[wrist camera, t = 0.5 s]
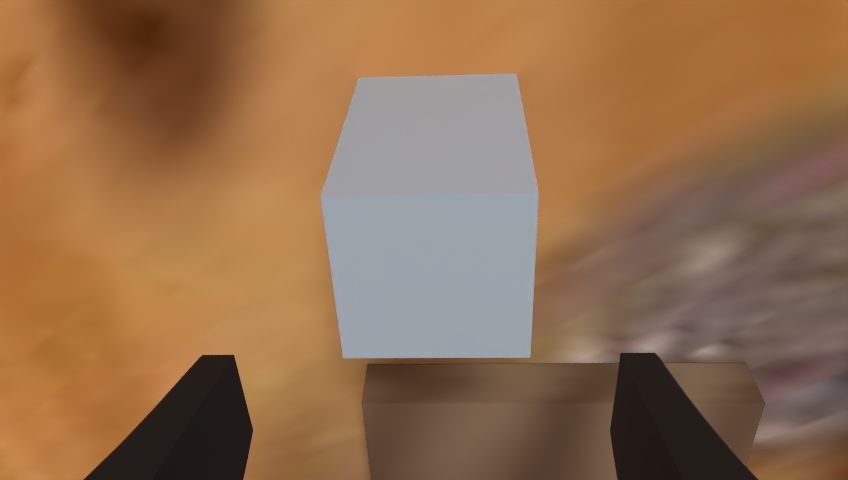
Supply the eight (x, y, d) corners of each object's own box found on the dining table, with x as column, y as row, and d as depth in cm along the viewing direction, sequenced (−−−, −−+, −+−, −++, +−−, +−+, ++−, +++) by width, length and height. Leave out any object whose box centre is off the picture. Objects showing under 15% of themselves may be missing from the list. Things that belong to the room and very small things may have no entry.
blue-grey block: (516, 73, 21) (538, 193, 15) (512, 209, 23) (530, 357, 18) (358, 77, 21) (320, 197, 15) (371, 211, 24) (343, 358, 18)
